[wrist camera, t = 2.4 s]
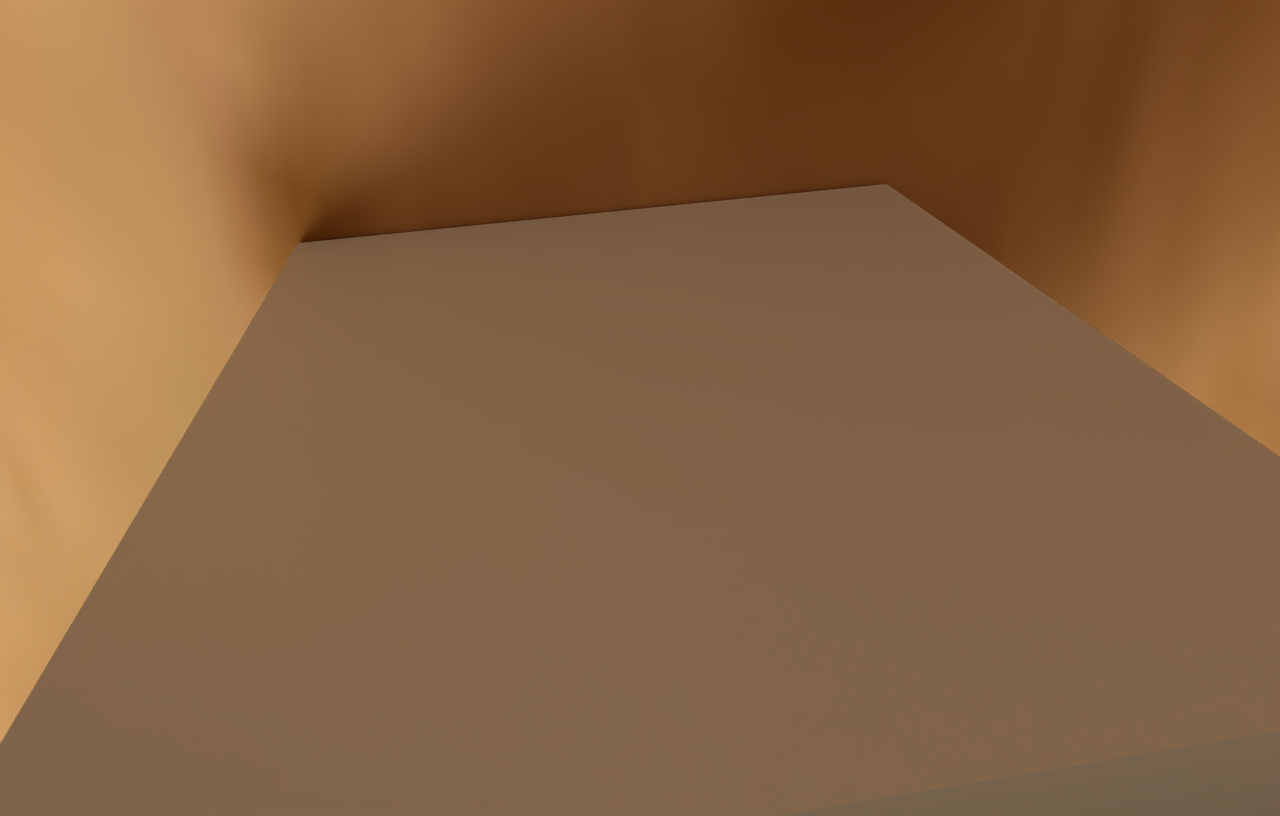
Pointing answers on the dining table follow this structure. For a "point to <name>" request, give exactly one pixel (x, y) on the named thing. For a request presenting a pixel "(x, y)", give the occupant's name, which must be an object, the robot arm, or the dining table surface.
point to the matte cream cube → (677, 544)
